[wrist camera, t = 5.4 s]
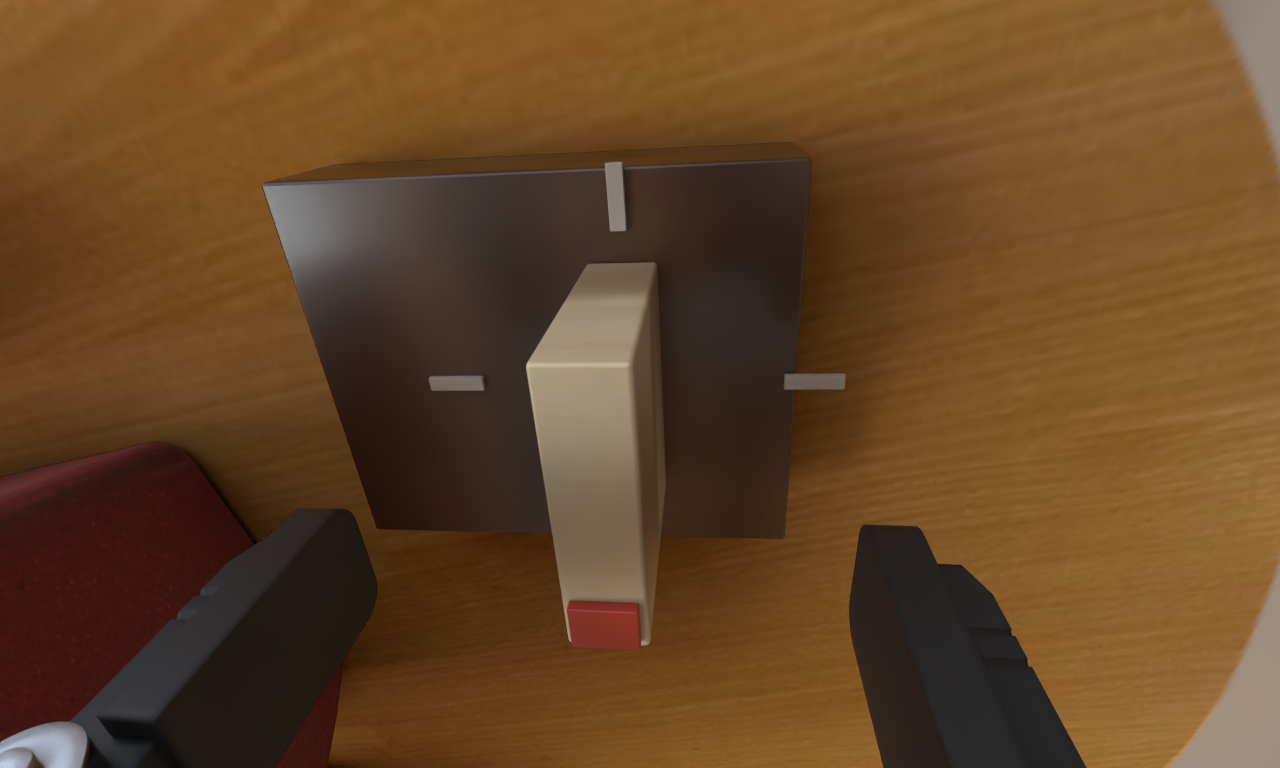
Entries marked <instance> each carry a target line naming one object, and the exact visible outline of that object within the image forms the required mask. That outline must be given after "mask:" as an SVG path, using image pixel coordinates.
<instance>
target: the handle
mask: <svg viewBox="0 0 1280 768" xmlns="http://www.w3.org/2000/svg"><path fill="white" fill-rule="evenodd" d="M526 370H527V377H528V383H529V389H530V396H531V402H532V409H533V415H534V421H535V428H536V434H537V441H538V447H539V453H540V460H541V466H542V473H543V479H544V485H545V492H546V498H547V505H548V511H549V517H550V524H551V530H552V537H553V543H554V550H555V556H556V562H557V569H558V575H559V582H560V588H561V594H562V601H563V607H564V614H565V620H566V626H567V633H568V639H569V641H570V642H572V647H577V648H597V649H617V650H637V651H639V650H640V649H641V646H647V645H649V643H650V640H651V630H652V620H653V610H654V599H655V589H656V579H657V568H658V558H659V548H660V538H661V527H662V517H663V507H664V496H665V486H666V468H665V442H664V416H663V391H662V365H661V339H660V313H659V288H658V266H657V264H656V263H654V262H648V263H604V264H588V265H587V266H586V267H585V269H584V271H583V272H582V274H581V276H580V277H579V279H578V280H577V282H576V284H575V285H574V287H573V289H572V290H571V292H570V294H569V295H568V297H567V299H566V300H565V302H564V303H563V305H562V307H561V308H560V310H559V312H558V313H557V315H556V317H555V318H554V320H553V321H552V323H551V325H550V326H549V328H548V330H547V331H546V333H545V335H544V336H543V338H542V339H541V341H540V343H539V344H538V346H537V348H536V349H535V351H534V353H533V354H532V356H531V358H530V359H529V361H528V362H527V365H526Z"/></svg>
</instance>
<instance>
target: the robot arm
mask: <svg viewBox="0 0 1280 768" xmlns="http://www.w3.org/2000/svg"><path fill="white" fill-rule="evenodd" d="M376 596H377V581H376V576H375V573H374V571H373V568H372V565H371V562H370V559H369V556H368V553H367V551H366V548H365V545H364V542H363V539H362V536H361V533H360V530H359V528H358V525H357V522H356V519H355V517H354V516H353V514H352V513H351V512H350V511H348V510H344V509H311V508H301V509H297V510H295V511H293V512H292V513H291V514H290V515H288V516H287V517H286V518H285V520H284V521H283V522H282V523H281V524H280V525H279V526H278V527H277V528H276V529H275V530H274V531H273V532H272V533H271V534H270V535H269V536H268V537H267V538H266V539H265V540H261V541H260V542H258V543H257V544H255V545H254V546H252V547H251V548H249V549H247V550H246V551H244V552H243V553H241V554H240V555H238V556H237V557H235V558H234V559H232V560H231V561H229V562H228V563H227V564H226V565H225V566H224V567H223V568H222V569H221V570H220V571H219V572H218V573H217V574H216V575H215V576H214V577H213V578H212V579H211V580H210V581H209V582H208V583H207V584H206V585H205V586H204V587H203V588H202V589H201V593H200V595H199V596H194V597H193V598H192V599H191V600H190V601H189V602H188V603H187V604H186V605H185V606H184V607H183V608H182V609H181V610H180V611H179V612H178V613H177V614H178V616H177V618H176V619H175V620H174V619H171V620H170V621H169V622H168V623H167V624H166V625H165V626H164V627H163V628H162V629H161V630H160V631H159V632H158V633H157V634H156V635H155V636H154V637H153V638H152V639H151V640H150V641H149V642H148V643H147V644H146V645H145V646H144V647H143V648H142V649H141V650H140V652H139V653H138V654H137V655H136V656H135V657H134V658H133V659H132V660H131V661H130V662H129V663H128V664H127V665H126V666H125V667H124V668H123V669H122V670H121V671H120V672H119V673H118V674H117V675H116V676H115V677H114V678H113V679H112V680H111V681H110V682H109V683H108V684H107V685H106V686H105V687H104V688H103V689H102V690H101V691H100V692H99V693H98V694H97V695H96V696H95V697H94V698H93V699H92V700H91V701H90V702H89V703H88V704H87V705H86V706H85V707H84V708H83V709H82V710H81V711H80V712H79V713H78V714H77V715H76V716H75V717H74V718H73V719H71V720H70V721H69V722H52V723H46V724H43V725H39V726H35V727H32V728H30V729H27V730H24V731H22V732H20V733H17V734H15V735H13V736H11V737H9V738H7V739H5V740H3V741H1V742H0V768H275V767H276V766H277V764H278V763H279V761H280V760H281V758H282V756H283V755H284V753H285V752H286V750H287V748H288V747H289V745H290V744H291V742H292V740H293V739H294V737H295V736H296V734H297V733H298V731H299V729H300V728H301V726H302V725H303V723H304V721H305V720H306V718H307V717H308V715H309V713H310V712H311V710H312V709H313V707H314V705H315V704H316V702H317V701H318V699H319V698H320V696H321V694H322V693H323V691H324V690H325V688H326V686H327V685H328V683H329V682H330V680H331V678H332V677H333V675H334V674H335V672H336V670H337V669H338V667H339V666H340V664H341V663H342V661H343V659H344V658H345V656H346V655H347V653H348V651H349V650H350V648H351V647H352V645H353V643H354V642H355V640H356V639H357V637H358V636H359V634H360V632H361V631H362V629H363V628H364V626H365V624H366V623H367V621H368V620H369V618H370V616H371V614H372V611H373V609H374V606H375V602H376ZM849 617H850V629H851V637H852V642H853V647H854V651H855V655H856V659H857V663H858V667H859V671H860V675H861V679H862V683H863V687H864V691H865V695H866V699H867V703H868V707H869V711H870V715H871V719H872V723H873V727H874V731H875V735H876V739H877V743H878V747H879V751H880V755H881V759H882V763H883V767H884V768H1086V766H1085V764H1084V763H1083V761H1082V759H1081V757H1080V755H1079V753H1078V751H1077V750H1076V748H1075V746H1074V744H1073V742H1072V740H1071V738H1070V737H1069V735H1068V733H1067V731H1066V729H1065V727H1064V726H1063V724H1062V722H1061V720H1060V718H1059V716H1058V714H1057V713H1056V711H1055V709H1054V707H1053V705H1052V703H1051V701H1050V700H1049V698H1048V696H1047V694H1046V692H1045V690H1044V689H1043V687H1042V685H1041V683H1040V681H1039V679H1038V677H1037V676H1036V674H1035V672H1034V670H1033V668H1032V667H1029V666H1028V663H1027V657H1026V655H1025V653H1024V652H1023V650H1022V648H1021V646H1020V644H1019V642H1018V640H1017V639H1016V637H1015V636H1012V633H1011V627H1010V626H1009V624H1008V622H1007V620H1006V618H1005V616H1004V615H1003V613H1002V611H1001V609H1000V607H999V605H998V603H997V602H996V600H995V598H994V596H993V594H992V593H991V592H990V591H988V590H987V589H986V588H985V587H984V586H983V585H982V584H981V583H980V582H979V581H978V580H977V579H976V578H975V577H974V576H972V575H971V574H970V573H969V572H968V571H967V570H966V569H965V568H964V567H963V566H962V565H952V564H937V562H936V560H935V558H934V555H933V553H932V551H931V549H930V547H929V545H928V542H927V540H926V538H925V536H924V534H923V532H922V531H921V529H920V528H919V527H917V526H891V525H863V526H862V528H861V530H860V534H859V540H858V546H857V553H856V560H855V567H854V574H853V581H852V588H851V594H850V604H849Z"/></svg>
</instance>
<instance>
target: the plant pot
mask: <svg viewBox="0 0 1280 768" xmlns="http://www.w3.org/2000/svg"><path fill="white" fill-rule="evenodd" d="M252 546H254V544H253V542H252V541H251V539H250V538H249V537H248V535H247V534H246V532H245V531H244V530H243V528H242V527H241V526H240V524H239V523H238V522H237V520H236V519H235V517H234V516H233V515H232V513H231V512H230V511H229V509H228V508H227V507H226V505H225V504H224V502H223V501H222V500H221V498H220V497H219V495H218V494H217V493H216V491H215V490H214V488H213V487H212V486H211V484H210V483H209V482H208V480H207V479H206V477H205V476H204V475H203V473H202V472H201V470H200V469H199V467H198V466H197V465H196V463H195V462H194V461H193V460H192V459H191V458H190V457H189V456H188V455H187V454H186V453H184V452H182V451H181V450H179V449H177V448H175V447H174V446H172V445H167V444H163V443H147V444H142V445H138V446H133V447H129V448H124V449H120V450H116V451H111V452H107V453H103V454H98V455H94V456H90V457H85V458H81V459H76V460H72V461H67V462H63V463H59V464H54V465H50V466H45V467H41V468H36V469H32V470H28V471H23V472H19V473H15V474H10V475H6V476H1V477H0V742H1V741H3V740H5V739H7V738H9V737H11V736H13V735H15V734H17V733H20V732H22V731H24V730H27V729H30V728H32V727H35V726H39V725H43V724H46V723H52V722H69V721H70V720H71V719H73V718H74V717H75V716H76V715H77V714H78V713H79V712H80V711H81V710H82V709H83V708H84V707H85V706H86V705H87V704H88V703H89V702H90V701H91V700H92V699H93V698H94V697H95V696H96V695H97V694H98V693H99V692H100V691H101V690H102V689H103V688H104V687H105V686H106V685H107V684H108V683H109V682H110V681H111V680H112V679H113V678H114V677H115V676H116V675H117V674H118V673H119V672H120V671H121V670H122V669H123V668H124V667H125V666H126V665H127V664H128V663H129V662H130V661H131V660H132V659H133V658H134V657H135V656H136V655H137V654H138V653H139V652H140V650H141V649H142V648H143V647H144V646H145V645H146V644H147V643H148V642H149V641H150V640H151V639H152V638H153V637H154V636H155V635H156V634H157V633H158V632H159V631H160V630H161V629H162V628H163V627H164V626H165V625H166V624H167V623H168V622H169V621H170V620H171V619H174V620H175V619H176V618H177V616H178V614H177V613H178V612H179V611H180V610H181V609H182V608H183V607H184V606H185V605H186V604H187V603H188V602H189V601H190V600H191V599H192V598H193V597H194V596H199V595H200V593H201V589H202V588H203V587H204V586H205V585H206V584H207V583H208V582H209V581H210V580H211V579H212V578H213V577H214V576H215V575H216V574H217V573H218V572H219V571H220V570H221V569H222V568H223V567H224V566H225V565H226V564H227V563H228V562H229V561H231V560H232V559H234V558H235V557H237V556H238V555H240V554H241V553H243V552H244V551H246V550H247V549H249V548H251V547H252ZM341 678H342V668H341V666H339V667H338V669H337V670H336V672H335V674H334V675H333V677H332V678H331V680H330V682H329V683H328V685H327V686H326V688H325V690H324V691H323V693H322V694H321V696H320V698H319V699H318V701H317V702H316V704H315V705H314V707H313V709H312V710H311V712H310V713H309V715H308V717H307V718H306V720H305V721H304V723H303V725H302V726H301V728H300V729H299V731H298V733H297V734H296V736H295V737H294V739H293V740H292V742H291V744H290V745H289V747H288V748H287V750H286V752H285V753H284V755H283V756H282V758H281V760H280V761H279V763H278V764H277V766H276V767H275V768H327V765H328V760H329V754H330V749H331V744H332V738H333V733H334V728H335V722H336V717H337V709H338V700H339V692H340V684H341Z"/></svg>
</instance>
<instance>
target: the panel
mask: <svg viewBox="0 0 1280 768" xmlns="http://www.w3.org/2000/svg"><path fill="white" fill-rule="evenodd" d="M811 166H812V160H811V158H810V157H809V156H807V155H806V154H805V153H804V152H803V151H802V150H800V149H799V148H798V147H797V146H796V145H794V144H793V143H791V142H784V143H763V144H743V145H723V146H703V147H682V148H662V149H642V150H621V151H601V152H581V153H560V154H540V155H520V156H499V157H479V158H459V159H438V160H418V161H398V162H377V163H357V164H337V165H331V166H327V167H323V168H319V169H315V170H311V171H308V172H304V173H300V174H296V175H292V176H288V177H284V178H280V179H276V180H272V181H268V182H265V183H263V184H262V188H263V191H264V194H265V197H266V200H267V203H268V206H269V209H270V212H271V215H272V218H273V221H274V224H275V227H276V230H277V233H278V236H279V239H280V242H281V245H282V248H283V251H284V254H285V257H286V260H287V263H288V266H289V269H290V272H291V274H292V277H293V280H294V283H295V286H296V289H297V292H298V295H299V298H300V301H301V304H302V307H303V310H304V313H305V316H306V319H307V322H308V325H309V328H310V331H311V334H312V337H313V340H314V343H315V346H316V349H317V352H318V355H319V358H320V361H321V364H322V367H323V369H324V372H325V375H326V378H327V381H328V384H329V387H330V390H331V393H332V396H333V399H334V402H335V405H336V408H337V411H338V414H339V417H340V420H341V423H342V426H343V429H344V432H345V435H346V438H347V441H348V444H349V447H350V450H351V453H352V456H353V459H354V462H355V464H356V467H357V470H358V473H359V476H360V479H361V482H362V485H363V488H364V491H365V494H366V497H367V500H368V503H369V506H370V509H371V512H372V515H373V518H374V521H375V524H376V527H377V528H378V529H393V530H434V531H475V532H516V533H552V530H551V524H550V517H549V511H548V505H547V498H546V492H545V485H544V479H543V473H542V466H541V460H540V453H539V447H538V441H537V434H536V428H535V421H534V415H533V409H532V402H531V396H530V389H529V383H528V377H527V370H526V365H527V362H528V361H529V359H530V358H531V356H532V354H533V353H534V351H535V349H536V348H537V346H538V344H539V343H540V341H541V339H542V338H543V336H544V335H545V333H546V331H547V330H548V328H549V326H550V325H551V323H552V321H553V320H554V318H555V317H556V315H557V313H558V312H559V310H560V308H561V307H562V305H563V303H564V302H565V300H566V299H567V297H568V295H569V294H570V292H571V290H572V289H573V287H574V285H575V284H576V282H577V280H578V279H579V277H580V276H581V274H582V272H583V271H584V269H585V267H586V266H587V265H588V264H604V263H648V262H654V263H656V264H657V266H658V288H659V313H660V339H661V365H662V391H663V416H664V442H665V468H666V486H665V496H664V507H663V517H662V527H661V536H681V537H722V538H763V539H783V538H784V536H785V523H786V509H787V496H788V482H789V468H790V454H791V441H792V427H793V413H794V400H795V390H819V389H845V381H846V375H845V374H844V373H824V374H796V372H797V358H798V345H799V331H800V317H801V304H802V290H803V276H804V262H805V249H806V235H807V221H808V207H809V194H810V180H811Z"/></svg>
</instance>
